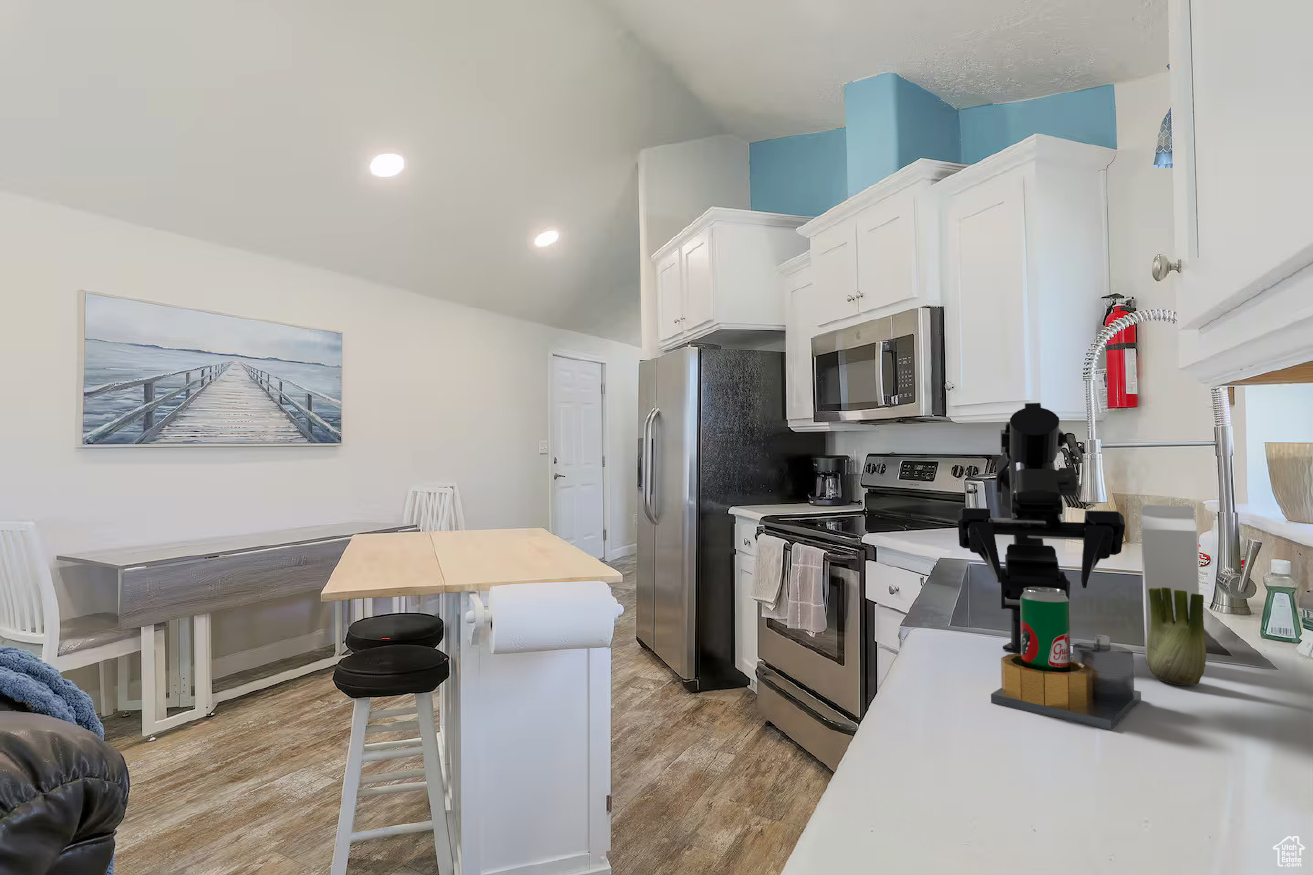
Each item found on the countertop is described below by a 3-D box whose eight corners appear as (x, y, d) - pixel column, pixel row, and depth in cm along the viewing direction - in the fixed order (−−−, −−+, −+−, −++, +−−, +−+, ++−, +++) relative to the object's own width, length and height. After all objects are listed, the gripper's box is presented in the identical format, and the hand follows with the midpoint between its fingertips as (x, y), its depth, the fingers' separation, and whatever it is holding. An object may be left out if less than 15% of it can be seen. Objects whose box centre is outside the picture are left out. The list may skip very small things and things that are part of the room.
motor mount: (1030, 678, 91) (1029, 619, 92) (1141, 700, 83) (1139, 635, 83) (991, 702, 82) (989, 637, 82) (1111, 730, 73) (1109, 657, 74)
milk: (1201, 673, 94) (1197, 507, 94) (1146, 666, 97) (1142, 505, 98) (1196, 662, 99) (1192, 504, 100) (1143, 656, 102) (1140, 503, 103)
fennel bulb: (1213, 689, 87) (1210, 591, 87) (1177, 691, 86) (1174, 592, 87) (1173, 675, 93) (1170, 583, 93) (1139, 677, 92) (1136, 584, 92)
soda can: (1059, 703, 78) (1057, 595, 79) (1013, 692, 82) (1012, 588, 83) (1079, 695, 82) (1077, 590, 82) (1033, 684, 86) (1032, 584, 86)
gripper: (957, 447, 95) (955, 537, 85) (1120, 446, 88) (1140, 544, 77) (960, 503, 102) (958, 592, 92) (1111, 506, 94) (1129, 604, 84)
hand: (1041, 583), depth 86 cm, fingers open, 9 cm apart
